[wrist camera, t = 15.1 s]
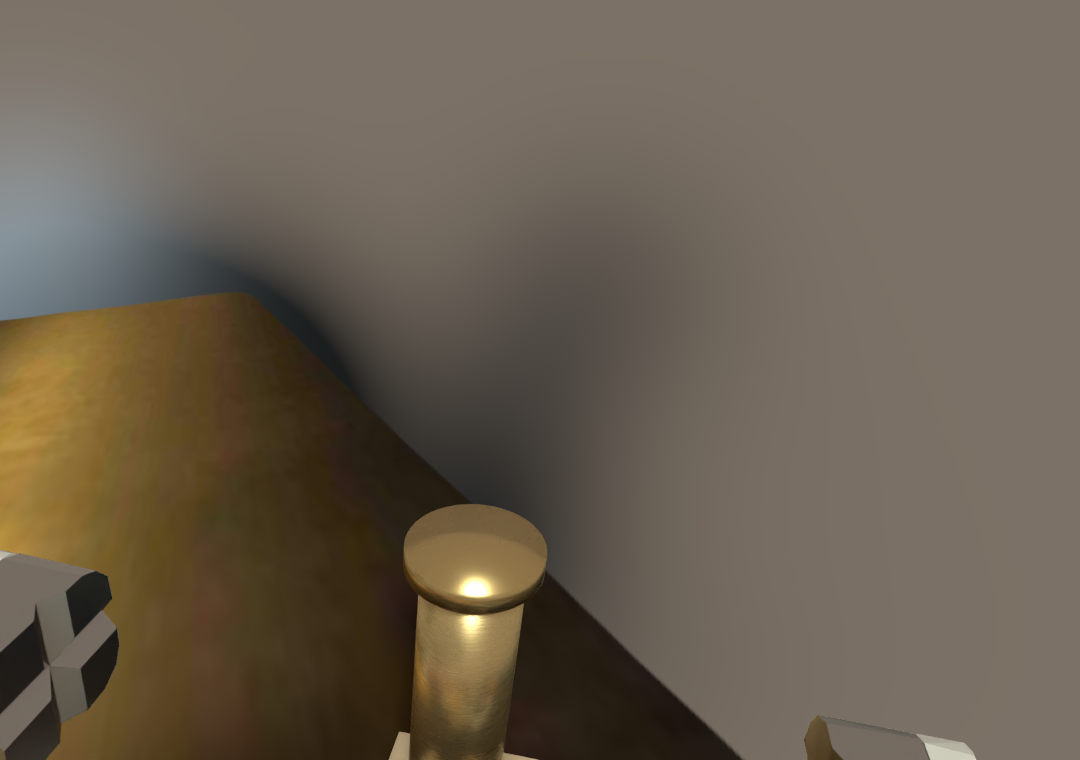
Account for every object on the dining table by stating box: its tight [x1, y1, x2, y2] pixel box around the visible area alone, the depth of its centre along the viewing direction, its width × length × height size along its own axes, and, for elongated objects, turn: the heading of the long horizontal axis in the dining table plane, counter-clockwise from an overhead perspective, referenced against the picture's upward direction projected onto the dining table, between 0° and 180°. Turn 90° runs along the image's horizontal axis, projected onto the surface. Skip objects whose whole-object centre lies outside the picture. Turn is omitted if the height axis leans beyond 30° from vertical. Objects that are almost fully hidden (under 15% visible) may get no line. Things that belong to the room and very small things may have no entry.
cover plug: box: [403, 504, 547, 760], centre depth 36 cm, size 6×6×17 cm
